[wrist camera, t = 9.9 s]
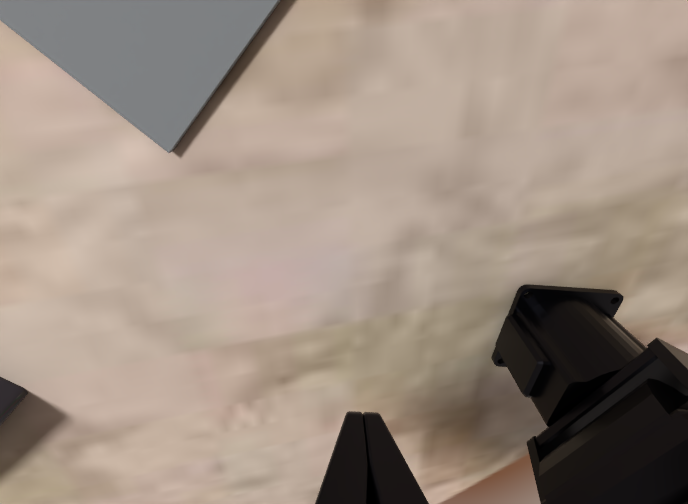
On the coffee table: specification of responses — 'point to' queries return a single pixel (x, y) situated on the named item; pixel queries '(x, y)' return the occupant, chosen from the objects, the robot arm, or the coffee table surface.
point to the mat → (143, 51)
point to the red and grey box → (9, 397)
